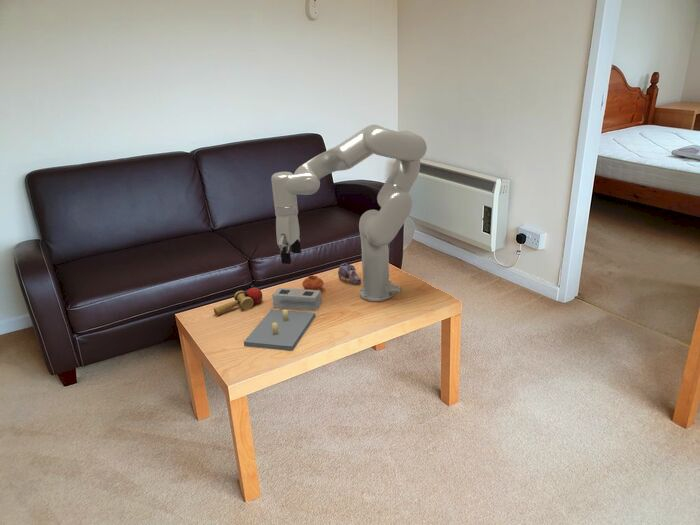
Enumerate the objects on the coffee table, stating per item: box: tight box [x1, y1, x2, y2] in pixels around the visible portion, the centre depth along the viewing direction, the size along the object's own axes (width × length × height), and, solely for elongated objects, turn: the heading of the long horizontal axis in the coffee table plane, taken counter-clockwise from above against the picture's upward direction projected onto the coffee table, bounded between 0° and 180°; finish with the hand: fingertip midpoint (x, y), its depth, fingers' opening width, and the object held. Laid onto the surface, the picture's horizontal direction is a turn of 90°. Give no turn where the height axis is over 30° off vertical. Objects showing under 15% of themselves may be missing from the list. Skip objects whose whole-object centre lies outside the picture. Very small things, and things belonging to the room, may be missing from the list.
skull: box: [337, 262, 362, 286], centre depth 201 cm, size 12×8×6 cm, turn 24°
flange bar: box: [271, 287, 322, 312], centre depth 184 cm, size 16×6×5 cm, turn 75°
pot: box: [301, 274, 325, 291], centre depth 194 cm, size 8×8×7 cm
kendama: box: [213, 287, 263, 317], centre depth 184 cm, size 8×6×18 cm
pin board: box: [243, 308, 316, 352], centre depth 168 cm, size 16×22×5 cm
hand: (291, 258), depth 177 cm, fingers open, 9 cm apart
